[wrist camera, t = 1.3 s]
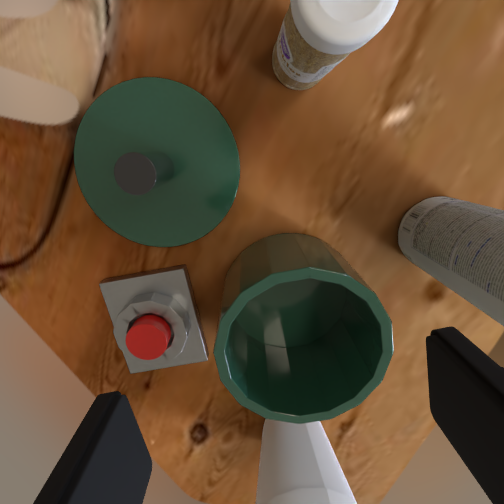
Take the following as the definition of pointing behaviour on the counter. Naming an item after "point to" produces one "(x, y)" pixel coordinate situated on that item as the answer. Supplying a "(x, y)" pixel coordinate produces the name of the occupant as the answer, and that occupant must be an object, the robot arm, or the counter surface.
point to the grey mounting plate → (157, 314)
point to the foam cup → (299, 466)
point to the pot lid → (156, 162)
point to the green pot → (299, 331)
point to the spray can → (459, 249)
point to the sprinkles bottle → (324, 36)
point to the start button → (148, 337)
